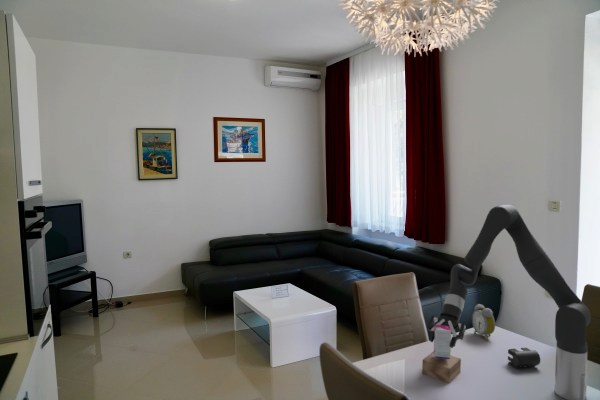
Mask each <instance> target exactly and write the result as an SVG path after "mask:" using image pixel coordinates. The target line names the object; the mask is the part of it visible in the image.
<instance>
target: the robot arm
mask: <svg viewBox="0 0 600 400" xmlns="http://www.w3.org/2000/svg"><path fill="white" fill-rule="evenodd" d="M503 230H505V231H506V232H507V233H508V235H509V236H510V237H511V239H512V241H513V242H514V245H515V249H516V253H517V256H518V259H519V262H520V264H521V265H522V267H523V268H524V269H525V271H526V272H527V274H528V276H529V277H530V278H531V279H532V280H533V281H534V282H535V283H537V285H539V287H541V289H543V290H545V291H546V292H547V294H549V296H550V297H551V298H552V299H553V301H554V303H555V304H556V306H557V307H558V309H557V311H556V314H555V318H554V319H555V320H554V335H555V338H554V339H555V341H556V350H555V366H554V367H555V368H554V369H555V372H554V373H555V374H554V376H555V377H554V393H555V395H557V396H558V397H560V398H563V399H565V400H586V397H587V385H588V384H587V383H588V370H587V364H588V351H589V350H588V348H589V347H588V343H587V342H586V338H587V337H586V336H587V326H588V325H589V324H590V323H591V319H592V316H591V312H590V309H589V308H588V307H587V306H586V304H585V303H584V302H583V301H582V300H581V299H580V298H579V296H578V295H577V294H576V293H575V291H573V290H572V289H571V287H570V286H569V285H568V283H567V282H566V280H565V278H564V277H563V276H562V274H561V273H560V271H559V269H558V268H557V267H556V265H555V264H554V262H553V261H552V260H551V258H550V257H549V255H548V254H547V253H546V251H545V250H544V249H543V247H542V246H541V245H540V243H539V241H538V240H537V239H536V238H535V237H534V235H533V234H532V233H531V231H530V230H529V228H528V226H527V224H526V222H525V221H524V218H522V216H521V214H520V212H519V211H518V209H517V208H515V207H514V206H513V205H511V204H501V205H496V206H494V207H492V208H491V209H490V210H489V212H488V214H487V215H486V218H485V220H484V222H483V225H482V227H481V229H480V231H479V234H478V236H477V237H476V239H475V241H474V242H473V244H472V245H471V247H470V249H469V250H468V251H467V253H466V255H465V257H464V260H463V261H464V263H465V264H466V265H467V266H468V267H467V266H465V265H462V264H461V263H457V264H454V265H453V266H452V268H451V270H450V284H449V285H450V286H449V290H448V293H447V296H446V297H445V299H444V302H443V305H442V308H441V311H440V313H439V316H438V317H435V316H434V315H431V316H430V319H429V322H428V324H427V327H426V328H427V330H428V331H429V332H430V333H429V336H428V339H429V341H430V343H434V332H435V325H445V326H449V327H450V329H451V335H452V336H451V342H450V347H451V349H453V348H454V347H456V344H457V341H458V340H460V341H462V340H463V339H464V336H465V333H466V330H467V326H466V324H465V322H464V323H463V322H461V323H460V319H461V317H462V313H463V311H464V306H465V301H466V299H467V295H468V289H467V287H466V286H469V287H470V286H473V285H474V284H475V283H476V281H477V279H478V274H479V271H480V268H481V267H482V265H483V263H484V262H485V260H486V259H487V257H488V256H489V254H490V253H491V252H490V251H491V249H492V246H493V243H494V242H495V239H496V238H497V236H499V234H500V233H501V232H502V231H503ZM464 285H466V286H464ZM457 328H459V331H458V334H457V332H456V329H457Z"/></svg>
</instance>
